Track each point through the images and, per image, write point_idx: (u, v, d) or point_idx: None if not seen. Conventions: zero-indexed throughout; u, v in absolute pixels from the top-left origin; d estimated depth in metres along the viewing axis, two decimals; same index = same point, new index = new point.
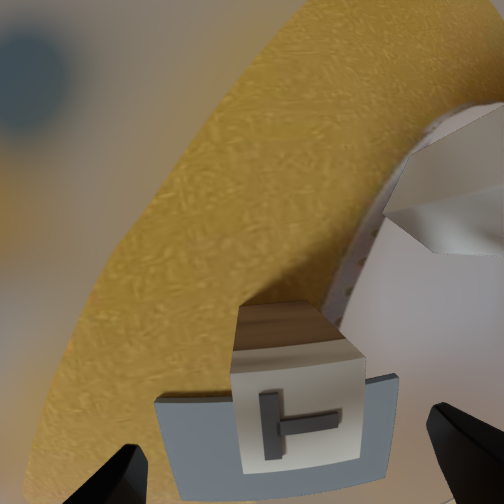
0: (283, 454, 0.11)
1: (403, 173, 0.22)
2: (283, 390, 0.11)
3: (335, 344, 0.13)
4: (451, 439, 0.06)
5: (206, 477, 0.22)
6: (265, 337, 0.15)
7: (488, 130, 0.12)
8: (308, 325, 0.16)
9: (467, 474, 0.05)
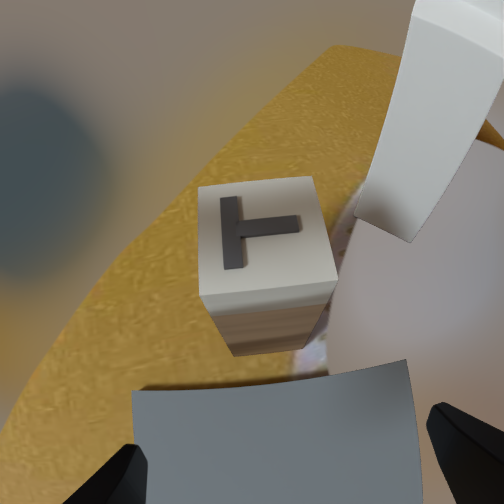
0: (244, 265, 0.12)
1: None
2: (241, 198, 0.13)
3: None
4: (451, 439, 0.06)
5: (181, 500, 0.16)
6: None
7: None
8: None
9: (467, 474, 0.05)
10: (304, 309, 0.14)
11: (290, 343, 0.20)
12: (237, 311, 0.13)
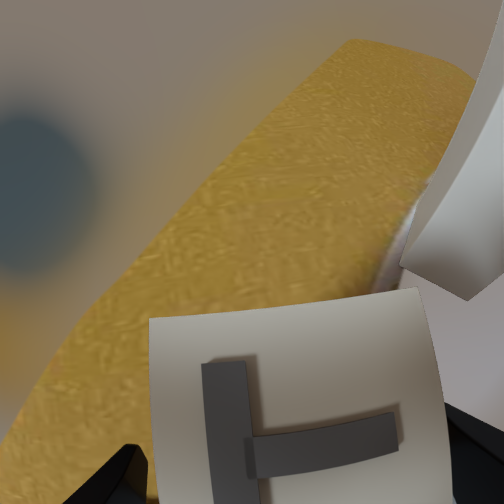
0: None
1: (413, 220, 0.20)
2: (258, 360, 0.05)
3: None
4: (451, 439, 0.06)
5: None
6: None
7: (474, 98, 0.11)
8: None
9: (467, 474, 0.05)
10: None
11: None
12: None
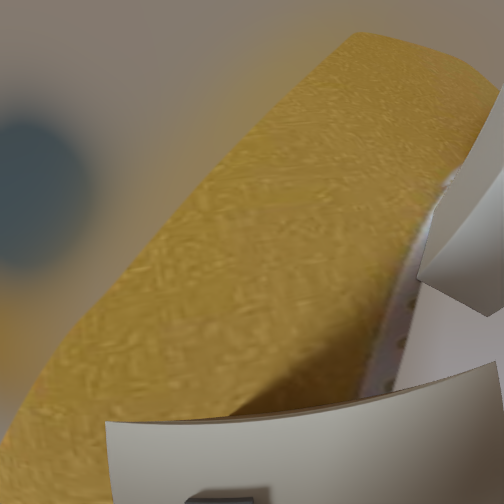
0: None
1: (431, 227, 0.18)
2: (271, 494, 0.03)
3: (402, 390, 0.05)
4: None
5: None
6: None
7: None
8: None
9: None
10: None
11: None
12: None
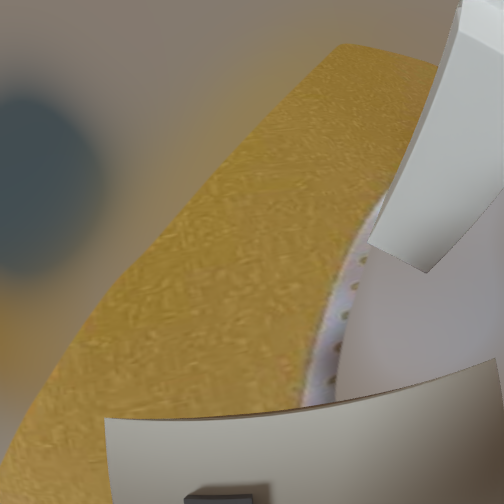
0: None
1: (381, 207, 0.26)
2: (271, 490, 0.03)
3: (402, 388, 0.05)
4: None
5: None
6: None
7: (423, 112, 0.17)
8: None
9: None
10: None
11: None
12: None
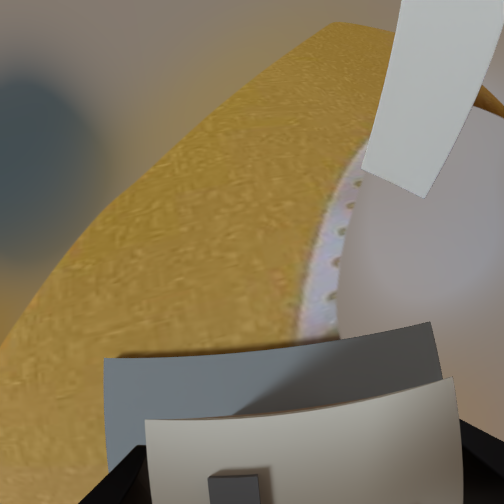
0: None
1: None
2: (271, 472, 0.04)
3: (381, 395, 0.06)
4: None
5: None
6: None
7: None
8: (328, 405, 0.09)
9: None
10: None
11: None
12: None
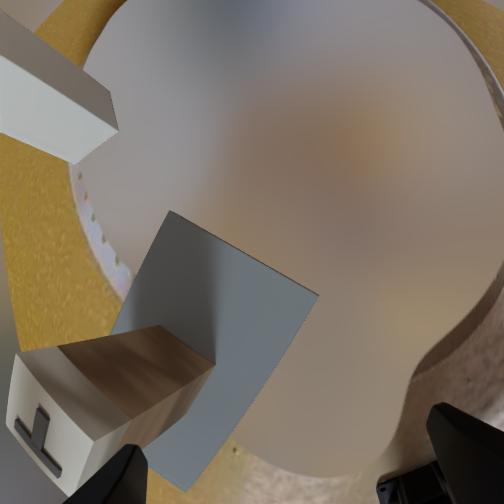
0: (61, 467, 0.09)
1: None
2: (18, 415, 0.09)
3: None
4: (451, 439, 0.06)
5: (163, 449, 0.21)
6: None
7: None
8: None
9: (467, 474, 0.05)
10: (131, 428, 0.11)
11: (194, 387, 0.18)
12: None
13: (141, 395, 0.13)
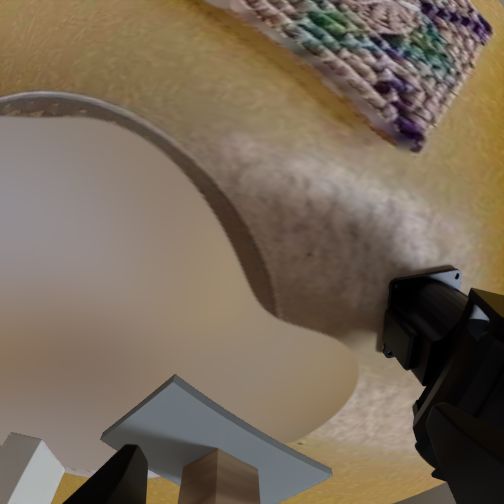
0: None
1: None
2: None
3: None
4: (451, 439, 0.06)
5: (287, 482, 0.25)
6: None
7: None
8: None
9: (467, 474, 0.05)
10: None
11: (226, 474, 0.21)
12: None
13: None
